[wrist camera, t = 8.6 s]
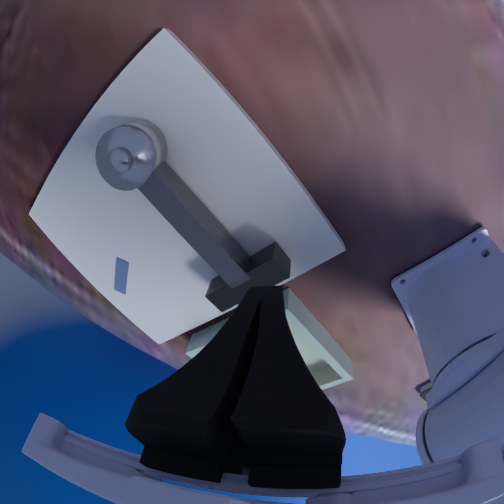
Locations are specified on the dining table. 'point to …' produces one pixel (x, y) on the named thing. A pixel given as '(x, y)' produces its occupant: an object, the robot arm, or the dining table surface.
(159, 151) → the crank
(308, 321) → the parts tray
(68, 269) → the dining table surface
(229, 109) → the crank plate
